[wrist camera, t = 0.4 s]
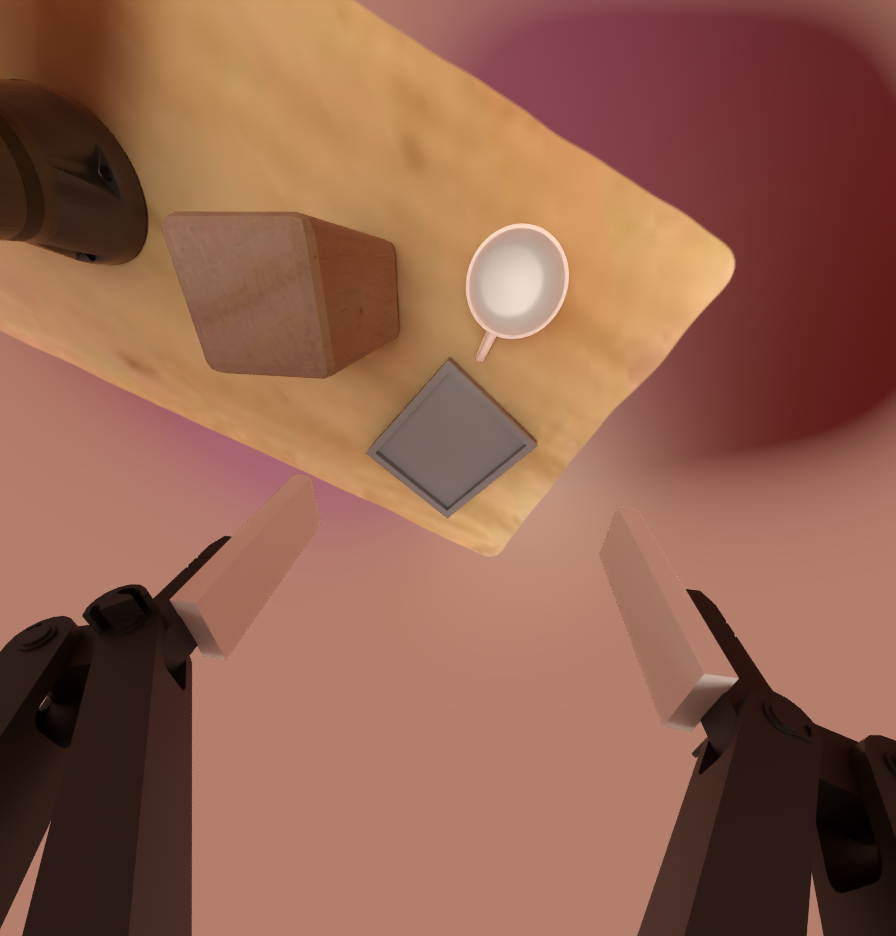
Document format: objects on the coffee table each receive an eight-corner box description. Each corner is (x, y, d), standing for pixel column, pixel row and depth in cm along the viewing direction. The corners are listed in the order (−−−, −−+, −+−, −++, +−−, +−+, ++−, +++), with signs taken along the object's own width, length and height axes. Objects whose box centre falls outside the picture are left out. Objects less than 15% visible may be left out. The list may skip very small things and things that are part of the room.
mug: (506, 363, 41) (508, 392, 31) (445, 326, 40) (426, 344, 29) (568, 264, 35) (597, 259, 25) (499, 218, 34) (500, 192, 24)
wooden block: (401, 338, 41) (331, 383, 24) (324, 334, 42) (204, 375, 25) (396, 240, 36) (303, 209, 19) (309, 239, 37) (146, 209, 20)
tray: (369, 447, 50) (365, 453, 48) (450, 357, 41) (448, 360, 40) (448, 511, 54) (447, 518, 52) (536, 440, 45) (537, 446, 44)
